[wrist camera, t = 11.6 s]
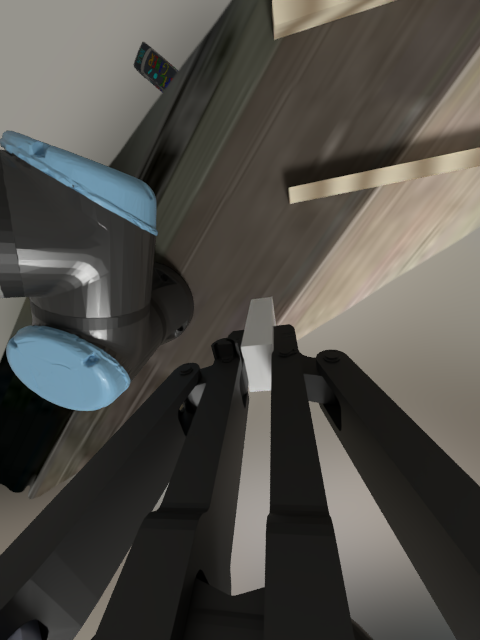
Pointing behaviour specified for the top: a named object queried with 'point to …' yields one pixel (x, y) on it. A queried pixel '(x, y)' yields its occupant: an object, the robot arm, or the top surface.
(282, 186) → the top surface
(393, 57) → the top surface
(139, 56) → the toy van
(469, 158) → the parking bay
